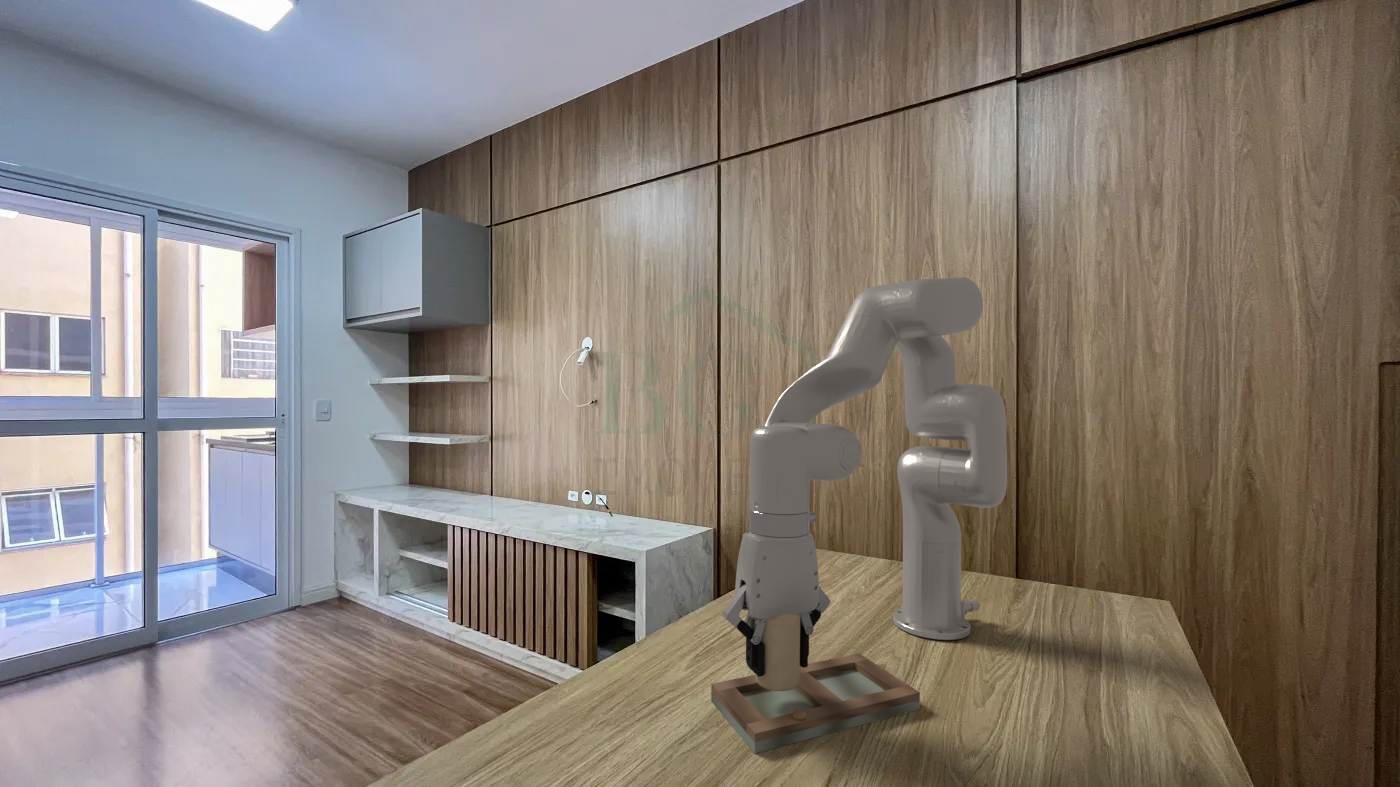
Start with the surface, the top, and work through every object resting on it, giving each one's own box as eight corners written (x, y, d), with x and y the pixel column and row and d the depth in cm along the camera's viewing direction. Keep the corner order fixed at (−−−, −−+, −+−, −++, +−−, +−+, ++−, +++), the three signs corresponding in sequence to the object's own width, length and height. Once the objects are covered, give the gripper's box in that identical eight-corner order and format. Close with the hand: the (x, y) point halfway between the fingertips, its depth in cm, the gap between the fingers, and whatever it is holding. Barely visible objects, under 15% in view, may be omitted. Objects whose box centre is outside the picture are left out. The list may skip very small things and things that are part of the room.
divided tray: (859, 668, 84) (859, 650, 84) (919, 709, 73) (919, 689, 73) (711, 700, 75) (711, 680, 75) (754, 753, 64) (754, 730, 64)
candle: (798, 694, 68) (799, 611, 68) (752, 688, 70) (754, 607, 70) (800, 673, 74) (801, 596, 74) (758, 668, 75) (759, 592, 75)
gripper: (818, 513, 79) (817, 644, 78) (705, 522, 72) (703, 666, 72) (853, 524, 72) (851, 668, 71) (731, 535, 65) (729, 694, 65)
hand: (777, 665), depth 72 cm, fingers closed on candle, 5 cm apart
